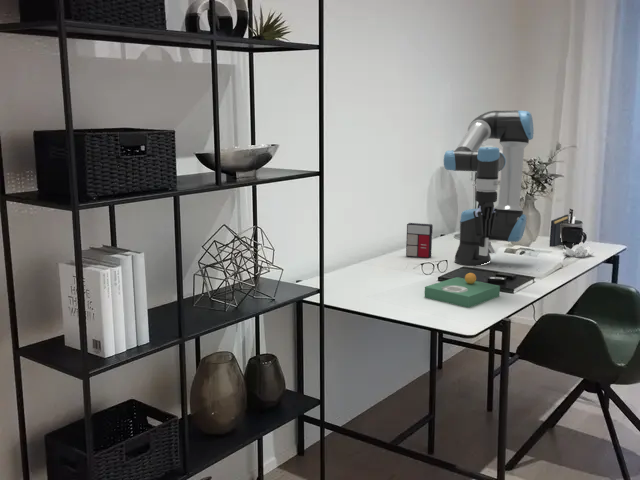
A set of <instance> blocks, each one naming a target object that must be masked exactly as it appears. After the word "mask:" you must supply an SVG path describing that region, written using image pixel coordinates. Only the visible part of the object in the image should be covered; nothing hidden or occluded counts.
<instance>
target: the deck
mask: <svg viewBox="0 0 640 480" xmlns="http://www.w3.org/2000/svg"><path fill="white" fill-rule="evenodd" d="M500 290H501V285H498V284H492V283H488V282H483V281H478V280H476V281H475V282H474V283H473V284H468V283H467V282H466V281H465V277H463V278H462V277H459V276H456V277H453V278H449V279H446V280H442V281H438V282H437V283H433V284H430V285H426V286H424V298H427V299H431V300H434V301H438V302H443V303H447V304H451V305H455V306H460V307H463V308H472V307H474V306H477V305H480V304H483V303H485V302H487V301H490V300H493V299H495V298H496V299H497V298H498V297H500V294H501V293H500V292H501V291H500Z"/></svg>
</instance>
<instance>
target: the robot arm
mask: <svg viewBox="0 0 640 480" xmlns="http://www.w3.org/2000/svg"><path fill="white" fill-rule="evenodd" d="M534 134H535V133H534V121H533V116H532V113H531V112H530V111H528V110H490V111H487V112H484V113H482V114H480V115H478V116H477V117H475V118H474V119H473V120H472V121H471V122H470V123H469V125H468V128H467V133H466V134H465V135H464V136H463V138H462V140H461V141H460V143H459V144H458V146H457V147H456V149H455V150H454V149H452V150H446V151H445V152H444V156H443V166H444V169H445V170H446V171H453V172H476V181H475V183H476V184H475V189H476V191H475V201H476V202H477V203H478V204H477V208H470V209H465V210H463V211H462V212H461V214H460V221H459V223H460V225H459V226H460V227H459V244H458V248H457V250H456V252H455V256H454V262H455V263H456V264H459V265H462V266H472V267H477V266H476V265H481V264H484V263H487V262H489V261H490V260H491V259H492V258H491V253H490V250H489V249H488V240H490V241H499V242H501V241H502V242H508V243H509V242H510V243H511V242H515V243H517V242H520V241H521V240H522V239H523V236H524V233H525V230H526V225H527V214H525V213H524V209H523V208H522V207H521V206H520V203H521V193H522V182H523V180H522V179H523V168H524V157H525V148H526V147H528V146H529V141H532V140H533V139H534ZM490 139H491V140H493V139H494V140H495V139H496V140H499V145H500V146H501V147H502V152H500V147H494V146H482V145H483V144H484V142H486V141H487V140H490ZM499 172H500V181H499ZM498 185H499V186H498ZM498 187H499V193H498V192H497V190H498ZM497 201H498V202H497ZM496 202H497V203H498V204H497V205H496V206H495V203H496Z"/></svg>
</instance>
